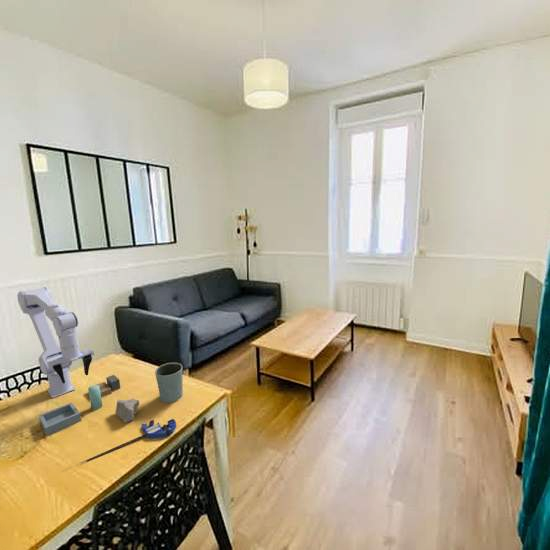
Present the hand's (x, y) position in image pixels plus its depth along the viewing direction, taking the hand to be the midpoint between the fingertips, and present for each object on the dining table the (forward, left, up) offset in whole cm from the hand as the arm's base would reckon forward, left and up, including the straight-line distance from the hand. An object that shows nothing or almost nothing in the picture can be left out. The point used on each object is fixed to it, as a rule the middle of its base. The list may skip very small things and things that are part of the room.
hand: (75, 378), depth 117 cm
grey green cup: (+25, +25, -10) cm, 37 cm away
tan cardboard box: (0, +8, -10) cm, 13 cm away
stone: (+23, +9, -10) cm, 27 cm away
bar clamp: (+37, +2, -11) cm, 39 cm away
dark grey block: (0, +13, -10) cm, 16 cm away
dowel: (+9, +3, -10) cm, 14 cm away
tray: (+9, -8, -10) cm, 16 cm away
